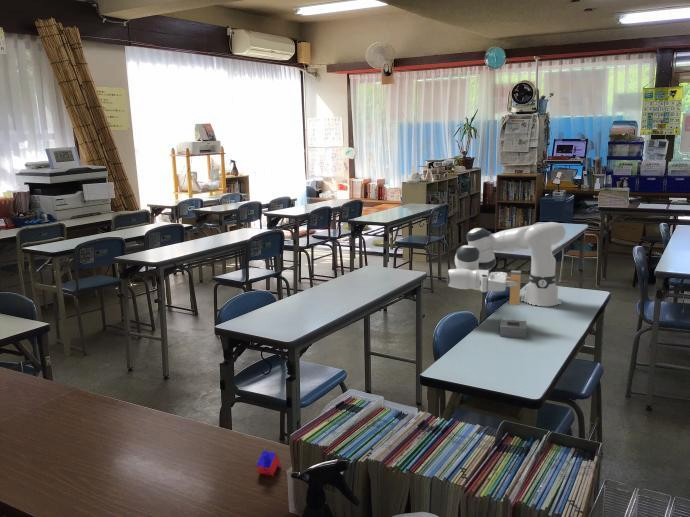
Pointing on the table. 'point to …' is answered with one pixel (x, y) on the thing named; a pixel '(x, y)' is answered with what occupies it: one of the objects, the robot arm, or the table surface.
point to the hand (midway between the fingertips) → (517, 282)
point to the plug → (515, 288)
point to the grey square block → (513, 328)
